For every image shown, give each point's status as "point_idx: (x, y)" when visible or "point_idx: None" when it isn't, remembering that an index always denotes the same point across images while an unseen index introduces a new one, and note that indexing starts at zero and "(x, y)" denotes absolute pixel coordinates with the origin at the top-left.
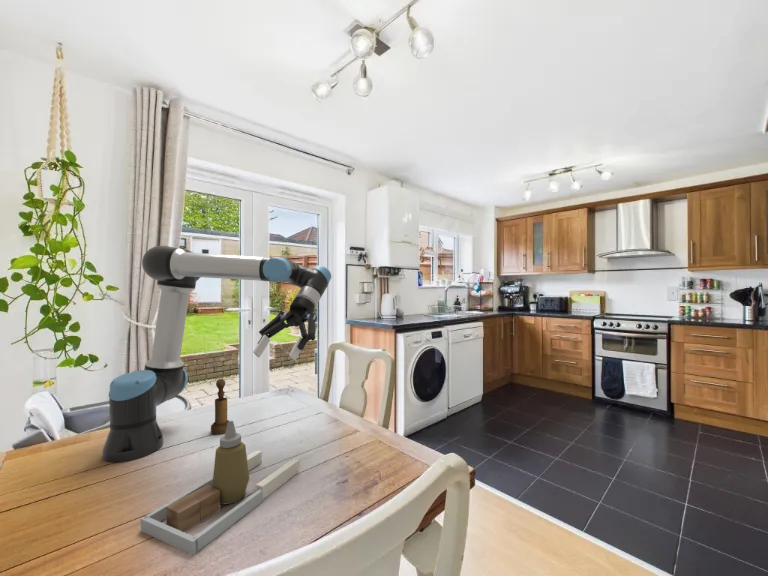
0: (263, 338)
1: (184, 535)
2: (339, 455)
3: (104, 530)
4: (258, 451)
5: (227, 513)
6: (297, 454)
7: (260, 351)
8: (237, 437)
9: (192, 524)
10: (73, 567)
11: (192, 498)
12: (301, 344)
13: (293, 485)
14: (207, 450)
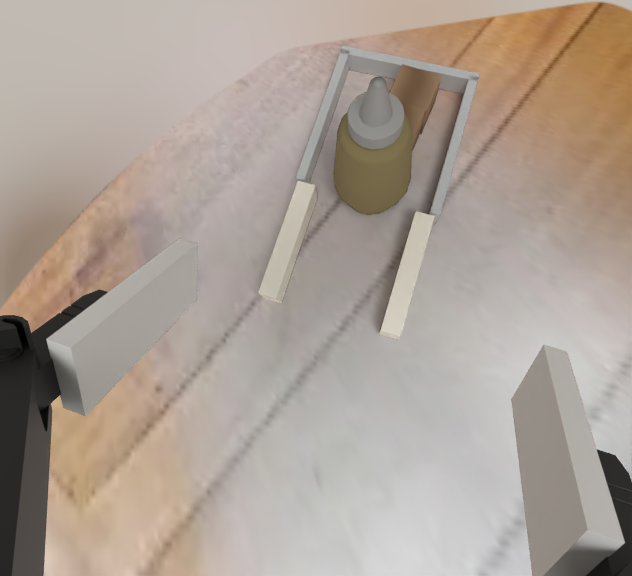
0: (574, 474)
1: (366, 53)
2: (179, 391)
3: (541, 80)
4: (390, 330)
5: (327, 107)
6: (297, 386)
7: (526, 411)
8: (352, 111)
9: None
10: (505, 17)
11: (408, 102)
12: (78, 305)
13: (256, 245)
14: (589, 386)
